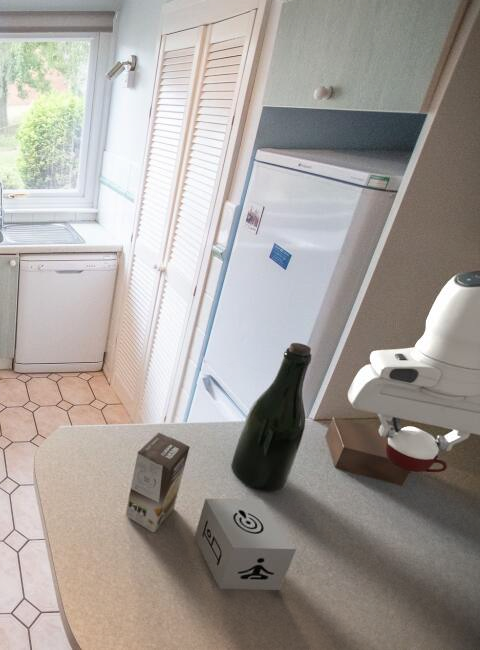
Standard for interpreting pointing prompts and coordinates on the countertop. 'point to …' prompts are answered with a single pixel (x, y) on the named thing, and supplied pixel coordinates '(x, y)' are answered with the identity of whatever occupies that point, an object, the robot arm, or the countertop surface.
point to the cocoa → (412, 449)
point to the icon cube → (243, 544)
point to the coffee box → (156, 481)
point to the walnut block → (362, 451)
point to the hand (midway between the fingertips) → (412, 441)
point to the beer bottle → (274, 426)
